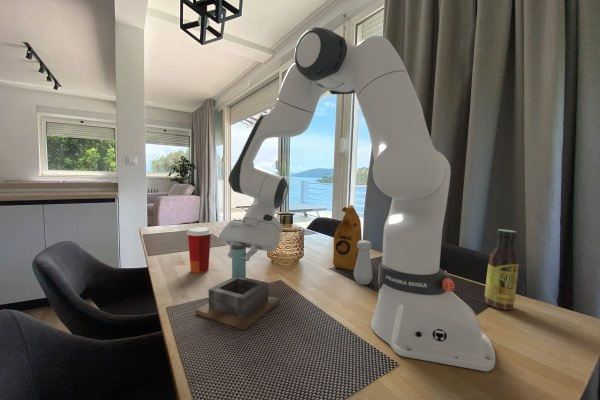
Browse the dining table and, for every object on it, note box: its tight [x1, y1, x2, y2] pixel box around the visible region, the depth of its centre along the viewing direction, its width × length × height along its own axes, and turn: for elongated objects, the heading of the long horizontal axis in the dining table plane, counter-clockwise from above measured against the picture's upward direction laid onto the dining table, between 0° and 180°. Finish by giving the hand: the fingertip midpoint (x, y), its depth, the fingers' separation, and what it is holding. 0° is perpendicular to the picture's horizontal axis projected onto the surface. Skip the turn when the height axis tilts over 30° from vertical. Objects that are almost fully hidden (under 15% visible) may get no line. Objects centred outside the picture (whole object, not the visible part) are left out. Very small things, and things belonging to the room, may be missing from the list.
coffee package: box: [332, 204, 363, 271], centre depth 98 cm, size 10×12×22 cm
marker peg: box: [231, 243, 247, 278], centre depth 79 cm, size 4×4×11 cm
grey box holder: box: [195, 276, 280, 331], centre depth 64 cm, size 14×14×6 cm
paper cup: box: [186, 227, 213, 274], centre depth 88 cm, size 8×8×14 cm
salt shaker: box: [353, 239, 373, 286], centre depth 82 cm, size 6×6×13 cm
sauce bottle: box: [484, 228, 520, 311], centre depth 68 cm, size 7×6×20 cm
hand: (237, 258), depth 78 cm, fingers closed on marker peg, 4 cm apart
